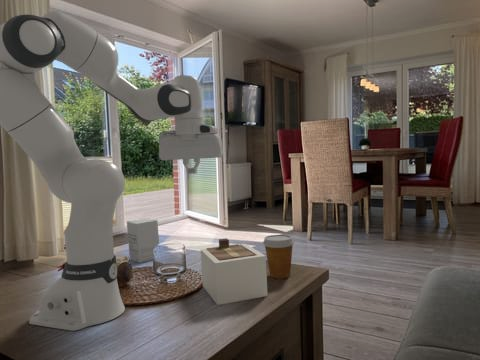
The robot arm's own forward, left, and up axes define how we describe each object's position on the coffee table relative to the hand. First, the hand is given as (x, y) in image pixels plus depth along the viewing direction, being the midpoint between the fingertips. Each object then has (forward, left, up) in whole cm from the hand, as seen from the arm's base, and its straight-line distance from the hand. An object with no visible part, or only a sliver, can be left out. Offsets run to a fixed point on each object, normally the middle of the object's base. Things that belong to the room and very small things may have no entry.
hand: (192, 173), depth 121 cm
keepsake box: (+14, -12, -33) cm, 38 cm away
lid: (+13, -10, -24) cm, 29 cm away
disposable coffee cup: (+26, +2, -33) cm, 42 cm away
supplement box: (-28, +21, -33) cm, 48 cm away
